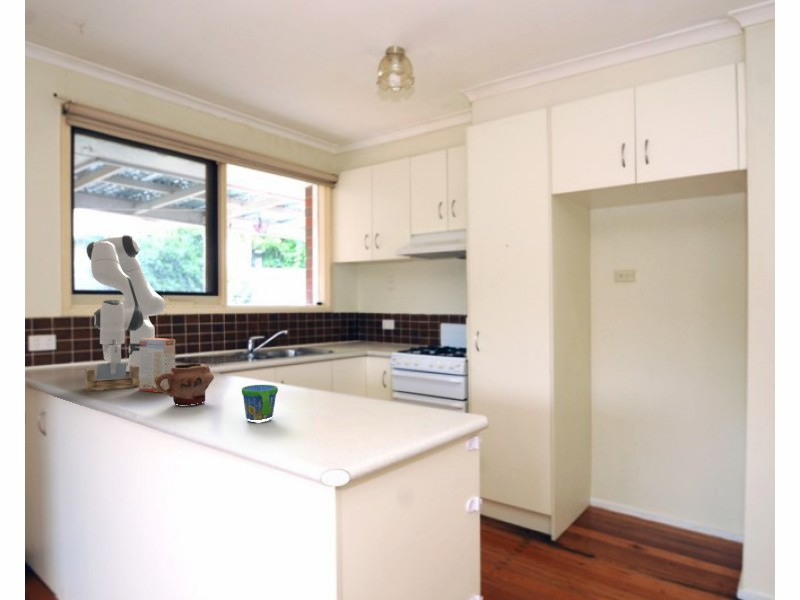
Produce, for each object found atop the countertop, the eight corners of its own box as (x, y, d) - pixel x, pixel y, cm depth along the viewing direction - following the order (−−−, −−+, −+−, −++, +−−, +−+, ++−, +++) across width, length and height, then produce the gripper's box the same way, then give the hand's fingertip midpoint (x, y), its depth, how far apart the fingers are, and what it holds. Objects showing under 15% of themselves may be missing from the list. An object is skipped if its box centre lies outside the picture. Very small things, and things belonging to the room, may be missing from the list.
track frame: (135, 383, 208) (135, 364, 208) (139, 386, 202) (139, 366, 202) (84, 388, 197) (85, 368, 197) (87, 391, 190) (87, 370, 190)
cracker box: (175, 391, 193) (176, 338, 193) (162, 393, 187) (163, 339, 187) (151, 388, 199) (152, 337, 199) (138, 390, 193) (138, 338, 193)
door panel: (124, 376, 203) (125, 362, 203) (125, 377, 201) (126, 363, 201) (97, 378, 197) (97, 364, 197) (97, 379, 195) (98, 364, 195)
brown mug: (167, 412, 156) (168, 369, 156) (147, 407, 163) (147, 366, 163) (221, 402, 173) (221, 363, 173) (200, 398, 179) (201, 360, 179)
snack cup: (281, 425, 142) (282, 390, 142) (244, 429, 138) (244, 393, 138) (272, 413, 156) (273, 382, 156) (238, 416, 152) (239, 384, 152)
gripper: (125, 340, 193) (125, 375, 193) (117, 337, 209) (117, 369, 209) (107, 341, 189) (106, 376, 189) (100, 338, 205) (99, 370, 205)
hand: (112, 373), depth 199 cm, fingers closed on door panel, 2 cm apart
